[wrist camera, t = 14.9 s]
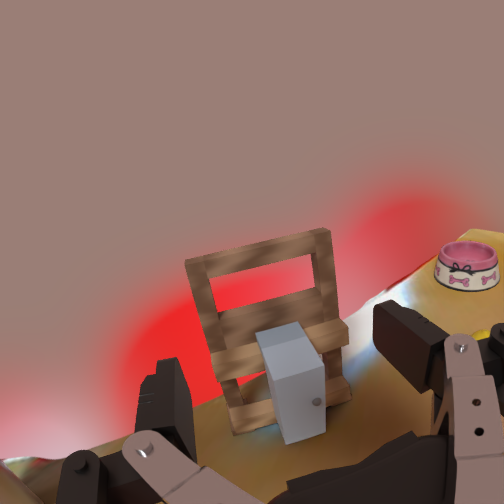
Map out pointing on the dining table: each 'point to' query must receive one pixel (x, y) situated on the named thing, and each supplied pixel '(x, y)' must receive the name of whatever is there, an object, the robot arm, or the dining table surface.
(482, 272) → the dog bowl
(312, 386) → the cabinet
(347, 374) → the dining table surface
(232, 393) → the rack
